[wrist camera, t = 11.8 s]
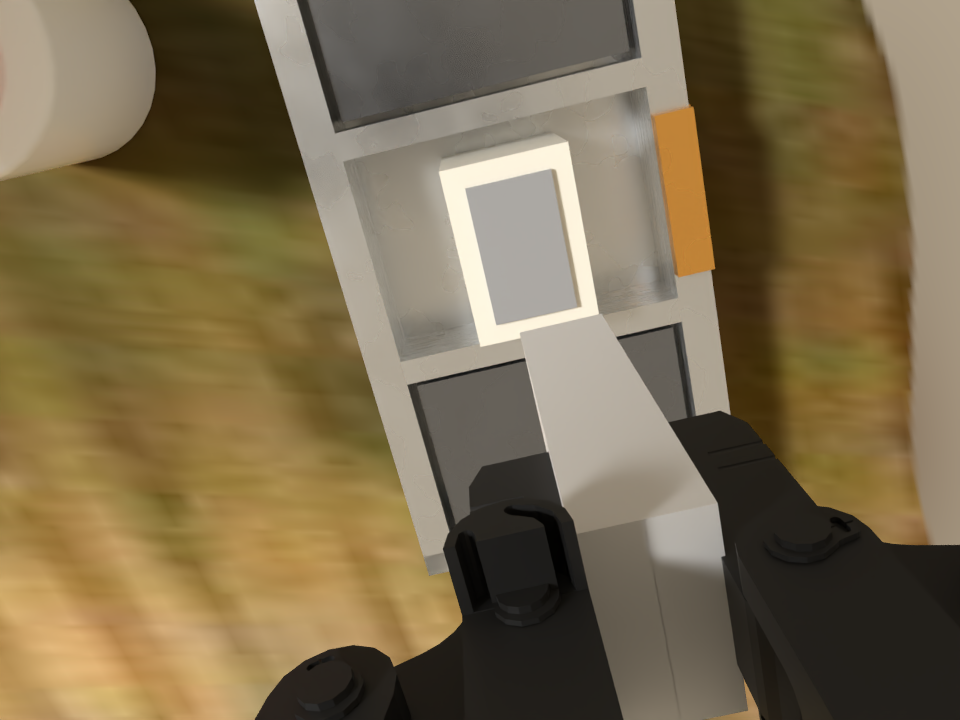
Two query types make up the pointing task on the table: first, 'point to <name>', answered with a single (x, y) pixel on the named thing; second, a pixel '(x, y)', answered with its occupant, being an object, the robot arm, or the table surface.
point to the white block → (519, 236)
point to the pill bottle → (70, 81)
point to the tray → (426, 223)
